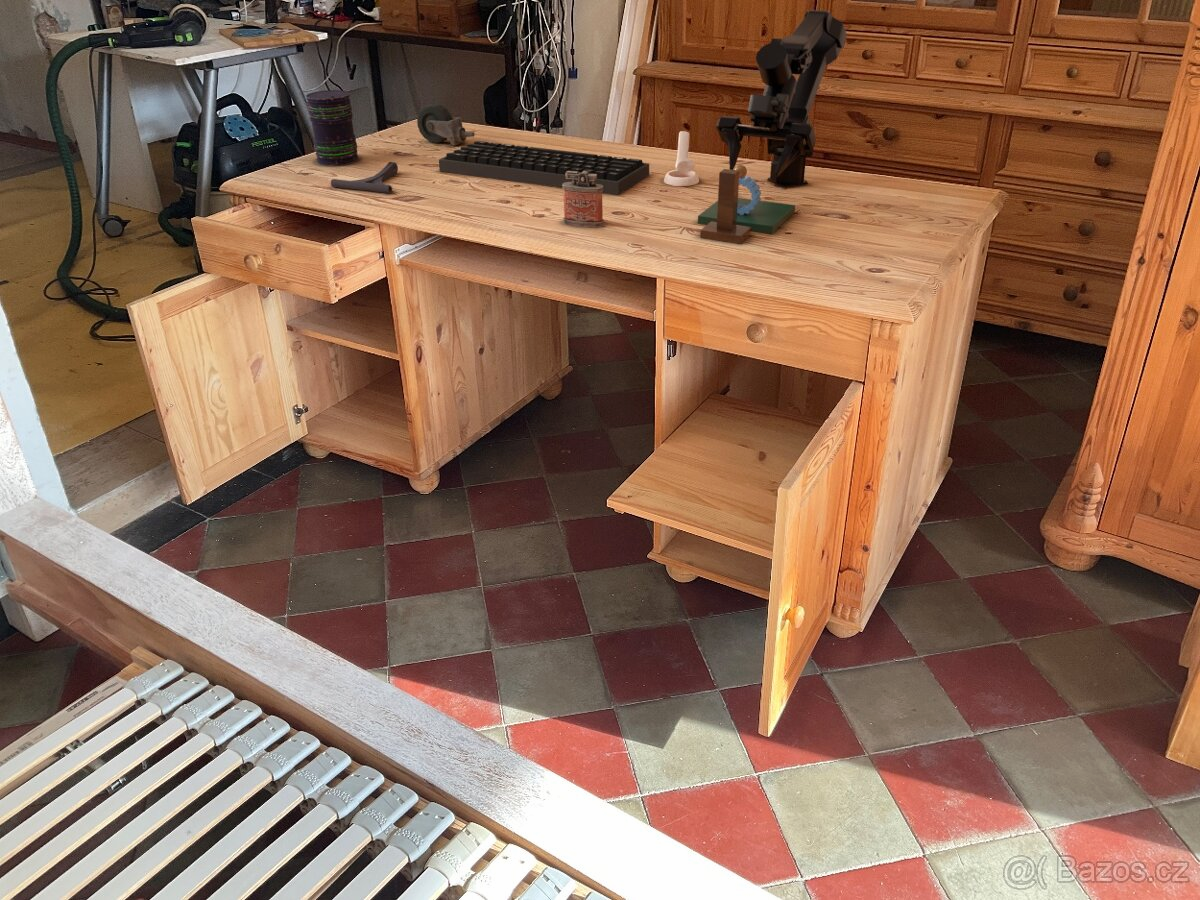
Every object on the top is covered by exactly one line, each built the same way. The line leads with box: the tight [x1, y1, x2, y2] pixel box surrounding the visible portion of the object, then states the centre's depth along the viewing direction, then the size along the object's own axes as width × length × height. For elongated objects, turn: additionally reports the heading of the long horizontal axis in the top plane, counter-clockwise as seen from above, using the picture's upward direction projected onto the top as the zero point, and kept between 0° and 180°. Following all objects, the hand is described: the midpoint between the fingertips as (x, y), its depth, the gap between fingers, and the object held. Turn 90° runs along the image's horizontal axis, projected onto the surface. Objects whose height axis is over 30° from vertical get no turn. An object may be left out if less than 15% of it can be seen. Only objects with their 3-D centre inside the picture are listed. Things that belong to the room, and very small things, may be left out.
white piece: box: [663, 130, 700, 187], centre depth 212 cm, size 8×12×7 cm
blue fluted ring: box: [737, 176, 762, 215], centre depth 186 cm, size 2×7×7 cm, turn 63°
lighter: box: [562, 171, 605, 228], centre depth 186 cm, size 8×3×10 cm, turn 71°
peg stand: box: [699, 164, 752, 245], centre depth 180 cm, size 10×8×12 cm
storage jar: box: [305, 89, 359, 167], centre depth 227 cm, size 10×10×15 cm
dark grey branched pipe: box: [330, 161, 399, 194], centre depth 214 cm, size 14×15×3 cm
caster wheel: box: [416, 103, 476, 147], centre depth 240 cm, size 6×10×15 cm
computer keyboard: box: [438, 140, 650, 196], centre depth 217 cm, size 45×16×4 cm, turn 64°
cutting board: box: [697, 197, 796, 235], centre depth 190 cm, size 14×15×2 cm
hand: (753, 172), depth 187 cm, fingers open, 9 cm apart
